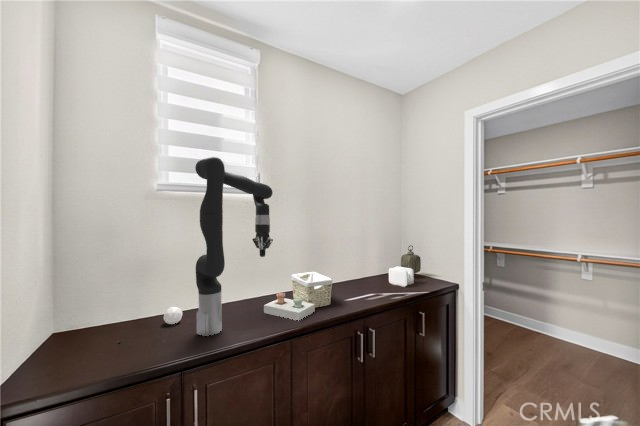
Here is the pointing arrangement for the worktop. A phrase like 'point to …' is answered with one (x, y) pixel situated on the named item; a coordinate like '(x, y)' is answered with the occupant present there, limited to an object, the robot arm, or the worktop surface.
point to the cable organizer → (401, 276)
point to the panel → (289, 309)
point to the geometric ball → (173, 315)
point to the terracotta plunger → (280, 298)
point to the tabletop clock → (411, 261)
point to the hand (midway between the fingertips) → (262, 256)
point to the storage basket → (312, 288)
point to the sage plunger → (298, 303)
